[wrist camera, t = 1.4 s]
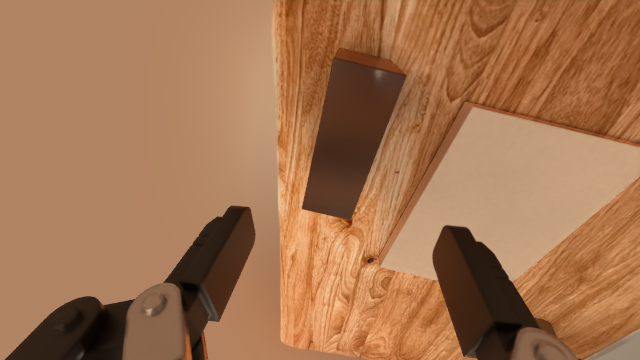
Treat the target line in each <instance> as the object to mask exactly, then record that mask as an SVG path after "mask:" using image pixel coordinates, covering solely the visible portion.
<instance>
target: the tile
mask: <svg viewBox="0 0 640 360" xmlns="http://www.w3.org/2000/svg"><path fill="white" fill-rule="evenodd" d="M639 177H640V144H639V143H634V142H630V141H626V140H622V139H618V138H614V137H610V136H606V135H602V134H598V133H593V132H589V131H585V130H581V129H577V128H573V127H569V126H565V125H561V124H556V123H552V122H548V121H544V120H540V119H536V118H532V117H528V116H524V115H520V114H515V113H511V112H507V111H503V110H499V109H495V108H491V107H487V106H483V105H478V104H474V103H470V102H465V103H464V104H463V106H462V108H461V110H460V112H459V113H458V115H457V117H456V119H455V121H454V122H453V124H452V126H451V128H450V130H449V131H448V133H447V135H446V137H445V139H444V140H443V142H442V144H441V146H440V148H439V149H438V151H437V153H436V155H435V157H434V158H433V160H432V162H431V164H430V166H429V167H428V169H427V171H426V173H425V175H424V176H423V178H422V180H421V182H420V184H419V185H418V187H417V189H416V191H415V193H414V194H413V196H412V198H411V200H410V202H409V203H408V205H407V207H406V209H405V211H404V212H403V214H402V216H401V218H400V220H399V221H398V223H397V225H396V227H395V229H394V230H393V232H392V234H391V236H390V238H389V239H388V241H387V243H386V245H385V247H384V248H383V250H382V252H381V254H380V256H379V257H378V258H379V267H380V268H385V269H389V270H393V271H398V272H402V273H406V274H411V275H415V276H420V277H424V278H428V279H433V280H437V281H438V278H437V275H436V272H435V269H434V266H433V261H432V254H433V249H434V247H435V245H436V242H437V240H438V238H439V235H440V233H441V230H442V228H443V227H444V226H445V225H452V226H463V227H467V228H468V229H469V230H470V231H471V233H472V235H473V237H474V238H475V240H476V241H479V242H482V243H484V244H485V245H486V246H487V247H488V248H489V249H490V250H491V251H492V252H493V253H494V254H495V255H496V257H497V259H498V260H499V262H500V264H501V265H502V269H504V270H505V272H506V273H507V275H508V276H509V280H511V281H512V282H513V281H515V280H516V279H517V278H518V277H519V276H521V275H522V274H523V273H524V272H525V271H527V270H528V269H529V268H530V267H531V266H533V265H534V264H535V263H536V262H537V261H539V260H540V259H541V258H542V257H544V256H545V255H546V254H547V253H548V252H550V251H551V250H552V249H553V248H554V247H556V246H557V245H558V244H559V243H560V242H562V241H563V240H564V239H565V238H566V237H568V236H569V235H570V234H571V233H573V232H574V231H575V230H576V229H577V228H579V227H580V226H581V225H582V224H583V223H585V222H586V221H587V220H588V219H589V218H591V217H592V216H593V215H594V214H595V213H597V212H598V211H599V210H600V209H601V208H603V207H604V206H605V205H606V204H608V203H609V202H610V201H611V200H612V199H614V198H615V197H616V196H617V195H618V194H620V193H621V192H622V191H623V190H624V189H626V188H627V187H628V186H629V185H630V184H632V183H633V182H634V181H635V180H637V179H638V178H639Z"/></svg>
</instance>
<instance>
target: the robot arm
mask: <svg viewBox="0 0 640 360" xmlns="http://www.w3.org/2000/svg"><path fill="white" fill-rule="evenodd" d="M254 241H255V229H254V224H253V219H252V214H251V210H250V208H249V207H242V206H230V207H229V208H228V209H227V211H226V212H225V214H224V215H223V217H216V218H215V219H213V220H212V221H211V222H209V223H208V224H207V225H206V226H205V227H204V229H203V230H202V231H201V233H200V234H199V237H197V238H196V240H195V241H194V242H193V245H192V246H191V247H190V248H189V249H188V251H187V252H186V253H185V255H184V256H183V257H182V259H181V260H180V262H179V263H178V264H177V266H176V267H175V268H174V270H173V271H172V273H171V274H170V275H169V277H168V278H167V279H166V280H165V282H164V283H162V284H158V285H155V286H152V287H150V288H149V289H147V290H145V291H144V292H143V293H141V294H140V295H139V296H138V297H137V298H136V299H133V300H129V301H124V302H118V303H113V304H108V305H103V304H102V303H101V302H100V301H99V300H98V299H96V298H95V297H90V296H89V297H82V298H77V299H75V300H72V301H70V302H68V303H66V304H64V305H62V306H61V307H59V308H58V309H56V310H55V311H54V312H52V313H51V314H50V315H49V316H48V317H47V318H46V319H45V320H44V321H43V322H42V323H41V324H40V325H39V326H38V327H37V328H36V329H35V330H34V331H33V332H32V333H31V334H30V335H29V336H28V337H27V338H26V339H25V340H24V341H23V342H22V343H21V344H20V345H19V346H18V347H17V348H16V349H15V350H14V351H13V352H12V353H11V354H10V355H9V356H8V357H7V358H6V359H5V360H208V356H207V349H206V343H205V337H204V332H203V330H204V328H205V326H206V324H207V322H208V321H216V322H219V321H220V319H221V316H222V314H223V312H224V310H225V308H226V305H227V303H228V301H229V298H230V296H231V294H232V292H233V290H234V287H235V285H236V283H237V281H238V279H239V276H240V274H241V272H242V270H243V267H244V265H245V263H246V261H247V259H248V256H249V254H250V252H251V250H252V248H253V245H254ZM432 261H433V266H434V269H435V272H436V275H437V278H438V281H439V284H440V287H441V290H442V293H443V296H444V299H445V302H446V305H447V308H448V311H449V314H450V317H451V320H452V323H453V326H454V329H455V332H456V335H457V338H458V341H459V344H460V347H461V350H462V353H463V356H464V357H471V358H477V359H478V360H581V359H578V358H577V357H576V355H575V354H574V353H573V352H572V351H571V350H570V349H569V348H568V347H567V346H566V345H565V344H564V343H563V342H562V341H560V340H559V339H558V338H556V337H555V336H553V335H551V334H550V333H548V332H546V331H543V330H542V329H541V328H540V326H539V325H538V323H537V322H536V320H535V319H534V317H533V315H532V314H531V312H530V310H529V309H528V307H527V306H526V304H525V302H524V301H523V299H522V298H521V296H520V294H519V293H518V291H517V289H516V288H515V286H514V285H513V283H512V281H511V280H509V276H508V275H507V273H506V272H505V270H504V269H502V265H501V264H500V262H499V260H498V259H497V257H496V255H495V254H494V253H493V252H492V251H491V250H490V249H489V248H488V247H487V246H486V245H485V244H484V243H482V242H479V241H476V240H475V238H474V237H473V235H472V233H471V231H470V230H469V229H468V228H467V227H463V226H452V225H445V226H444V227H443V228H442V230H441V233H440V235H439V238H438V240H437V242H436V245H435V247H434V249H433V254H432Z"/></svg>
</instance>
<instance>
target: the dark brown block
mask: <svg viewBox="0 0 640 360" xmlns="http://www.w3.org/2000/svg"><path fill="white" fill-rule="evenodd" d="M405 78H406V75H405V74H404V73H403V72H402V71H401V70H400V69H399V68H398V67H397V66H396V65H395V64H394V63H393V62H392V61H391V60H387V59H383V58H379V57H375V56H371V55H367V54H363V53H359V52H355V51H351V50H347V49H343V48H339V50H338V51H337V53H336V55H335V57H334V59H333V63H332V68H331V73H330V77H329V82H328V87H327V92H326V96H325V101H324V106H323V111H322V116H321V120H320V125H319V130H318V135H317V139H316V144H315V149H314V154H313V158H312V163H311V168H310V173H309V177H308V182H307V187H306V192H305V196H304V201H303V206H302V209H304V210H308V211H313V212H317V213H321V214H326V215H330V216H334V217H338V218H343V219H347V220H351V218H352V215H353V213H354V210H355V207H356V205H357V202H358V200H359V197H360V195H361V192H362V189H363V187H364V184H365V182H366V179H367V176H368V174H369V171H370V169H371V166H372V164H373V161H374V158H375V156H376V153H377V151H378V148H379V145H380V143H381V140H382V138H383V135H384V133H385V130H386V127H387V125H388V122H389V120H390V117H391V114H392V112H393V109H394V107H395V104H396V102H397V99H398V96H399V94H400V91H401V89H402V86H403V84H404V81H405Z"/></svg>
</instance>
